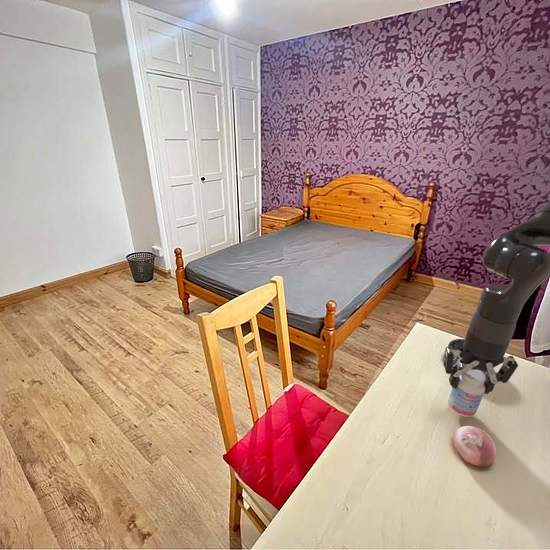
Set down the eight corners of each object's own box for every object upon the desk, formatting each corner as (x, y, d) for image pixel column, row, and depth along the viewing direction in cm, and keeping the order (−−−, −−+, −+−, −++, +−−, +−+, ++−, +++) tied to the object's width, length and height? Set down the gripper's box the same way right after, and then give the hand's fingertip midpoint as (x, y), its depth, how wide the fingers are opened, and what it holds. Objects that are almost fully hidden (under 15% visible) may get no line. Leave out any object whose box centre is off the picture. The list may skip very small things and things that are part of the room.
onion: (442, 449, 69) (450, 428, 66) (461, 431, 73) (469, 410, 69) (480, 480, 63) (490, 458, 60) (498, 459, 67) (509, 437, 63)
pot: (450, 349, 98) (455, 334, 95) (491, 366, 91) (497, 350, 88) (438, 367, 91) (442, 352, 88) (480, 387, 84) (487, 371, 81)
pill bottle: (451, 415, 73) (463, 381, 68) (445, 395, 79) (455, 362, 73) (479, 420, 72) (493, 386, 67) (471, 399, 77) (484, 366, 72)
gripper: (521, 326, 66) (497, 382, 74) (448, 316, 70) (432, 371, 77) (537, 348, 60) (509, 407, 67) (456, 337, 63) (438, 394, 71)
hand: (468, 388), depth 72 cm, fingers closed on pill bottle, 6 cm apart
